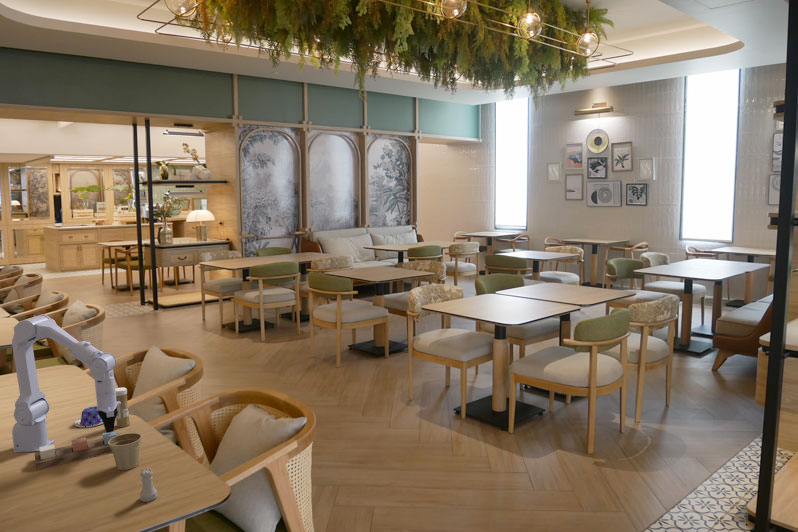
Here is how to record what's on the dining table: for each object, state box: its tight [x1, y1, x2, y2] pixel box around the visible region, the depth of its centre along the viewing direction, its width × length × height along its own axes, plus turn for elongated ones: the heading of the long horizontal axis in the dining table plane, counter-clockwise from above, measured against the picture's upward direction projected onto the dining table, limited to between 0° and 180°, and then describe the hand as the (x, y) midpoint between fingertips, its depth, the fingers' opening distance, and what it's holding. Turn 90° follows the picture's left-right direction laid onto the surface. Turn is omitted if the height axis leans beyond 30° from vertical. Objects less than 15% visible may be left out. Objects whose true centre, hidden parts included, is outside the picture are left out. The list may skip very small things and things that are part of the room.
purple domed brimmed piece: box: [73, 405, 103, 428], centre depth 226 cm, size 12×12×5 cm
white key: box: [39, 443, 56, 460], centre depth 193 cm, size 4×4×3 cm
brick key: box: [71, 436, 88, 452], centre depth 198 cm, size 4×4×3 cm
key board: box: [34, 434, 121, 471], centre depth 198 cm, size 25×9×2 cm, turn 122°
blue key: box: [102, 430, 119, 445], centre depth 202 cm, size 4×4×3 cm
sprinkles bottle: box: [115, 387, 131, 428], centre depth 220 cm, size 5×5×13 cm
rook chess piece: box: [139, 467, 158, 503], centre depth 167 cm, size 4×4×8 cm
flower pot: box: [108, 432, 143, 471], centre depth 188 cm, size 9×9×9 cm
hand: (109, 431), depth 202 cm, fingers closed
